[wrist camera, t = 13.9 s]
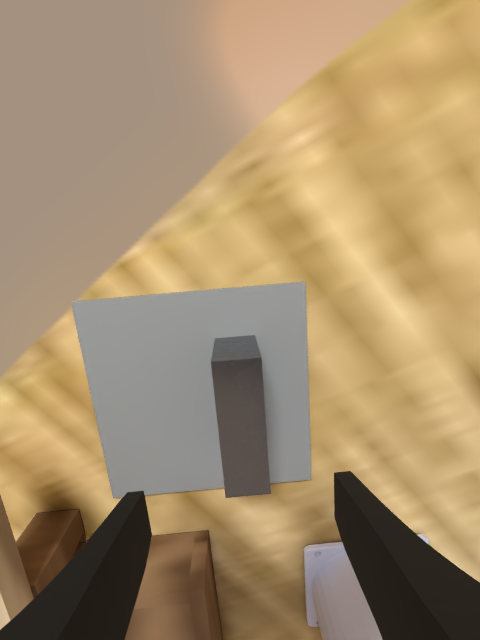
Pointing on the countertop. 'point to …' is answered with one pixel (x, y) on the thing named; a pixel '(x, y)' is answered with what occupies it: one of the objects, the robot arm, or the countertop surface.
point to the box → (157, 584)
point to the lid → (200, 388)
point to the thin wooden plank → (11, 574)
